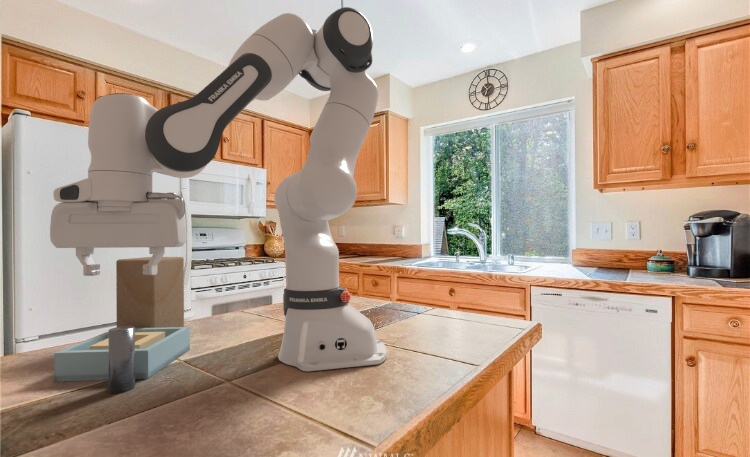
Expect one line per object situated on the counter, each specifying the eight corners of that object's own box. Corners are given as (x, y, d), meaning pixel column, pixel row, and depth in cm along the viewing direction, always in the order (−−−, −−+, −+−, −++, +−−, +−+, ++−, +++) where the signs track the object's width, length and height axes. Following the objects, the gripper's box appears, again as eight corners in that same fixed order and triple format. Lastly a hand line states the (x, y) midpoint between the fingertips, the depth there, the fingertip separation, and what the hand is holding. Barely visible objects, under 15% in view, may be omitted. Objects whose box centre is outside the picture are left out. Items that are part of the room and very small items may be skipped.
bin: (189, 349, 80) (189, 326, 80) (148, 378, 64) (148, 350, 64) (115, 351, 79) (114, 328, 79) (54, 381, 63) (54, 353, 63)
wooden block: (152, 349, 81) (152, 259, 81) (115, 347, 83) (115, 259, 83) (185, 336, 90) (184, 256, 91) (150, 334, 92) (150, 256, 93)
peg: (139, 383, 62) (139, 325, 62) (126, 393, 58) (126, 331, 58) (118, 384, 62) (117, 326, 62) (103, 394, 58) (103, 331, 58)
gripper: (193, 194, 64) (193, 272, 64) (73, 194, 63) (73, 273, 63) (175, 190, 58) (175, 276, 58) (42, 190, 57) (41, 278, 57)
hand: (121, 275), depth 60 cm, fingers open, 8 cm apart
